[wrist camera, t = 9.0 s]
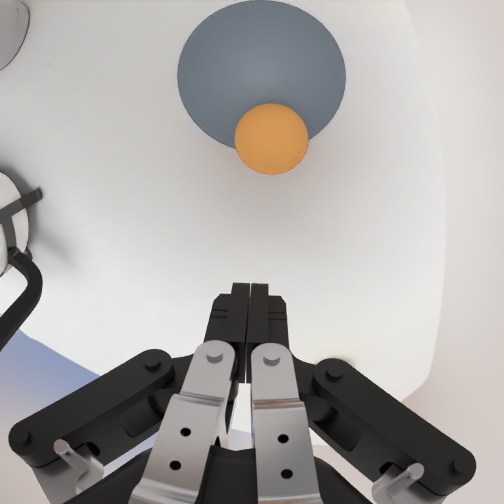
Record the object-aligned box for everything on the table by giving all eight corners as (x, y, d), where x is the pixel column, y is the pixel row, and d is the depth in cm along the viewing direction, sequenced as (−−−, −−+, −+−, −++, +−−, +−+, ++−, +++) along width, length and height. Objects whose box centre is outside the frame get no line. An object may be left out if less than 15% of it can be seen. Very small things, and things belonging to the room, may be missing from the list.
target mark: (179, 152, 24) (178, 153, 24) (180, 5, 18) (179, 5, 18) (340, 157, 24) (341, 157, 24) (344, 8, 17) (345, 8, 17)
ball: (237, 117, 17) (247, 84, 20) (223, 179, 21) (233, 139, 24) (322, 139, 18) (315, 103, 21) (295, 196, 22) (294, 154, 25)
